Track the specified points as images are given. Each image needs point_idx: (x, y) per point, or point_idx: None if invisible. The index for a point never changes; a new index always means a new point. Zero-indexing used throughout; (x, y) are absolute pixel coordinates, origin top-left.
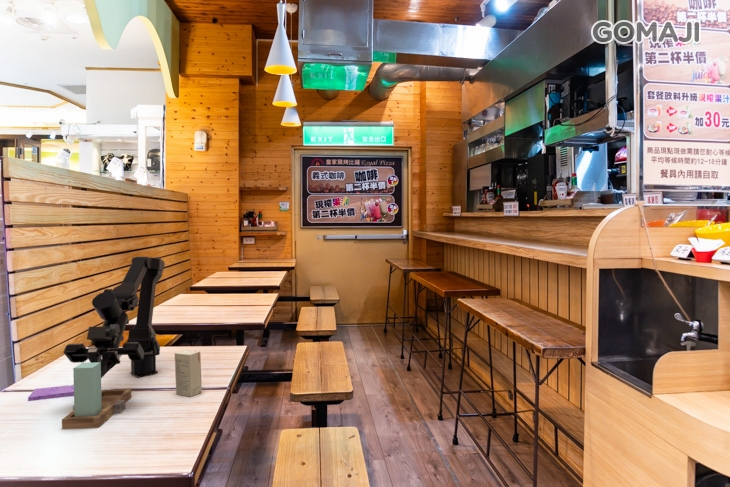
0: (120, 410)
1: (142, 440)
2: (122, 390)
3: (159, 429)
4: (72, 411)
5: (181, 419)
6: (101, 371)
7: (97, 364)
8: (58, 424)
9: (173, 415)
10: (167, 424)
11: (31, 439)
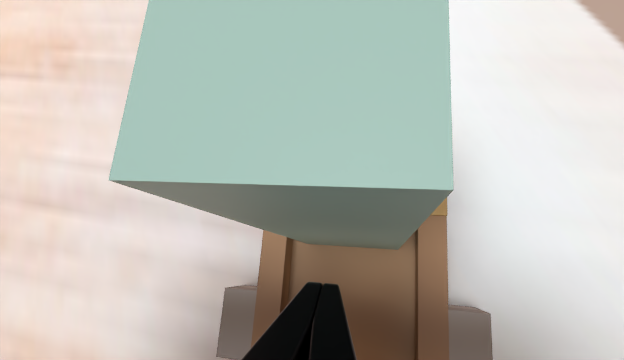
0: (239, 286)
1: (127, 35)
2: None
3: (87, 105)
4: (438, 206)
5: (25, 179)
6: (247, 355)
7: (135, 66)
8: (486, 194)
9: (47, 221)
10: (65, 142)
11: (513, 54)
